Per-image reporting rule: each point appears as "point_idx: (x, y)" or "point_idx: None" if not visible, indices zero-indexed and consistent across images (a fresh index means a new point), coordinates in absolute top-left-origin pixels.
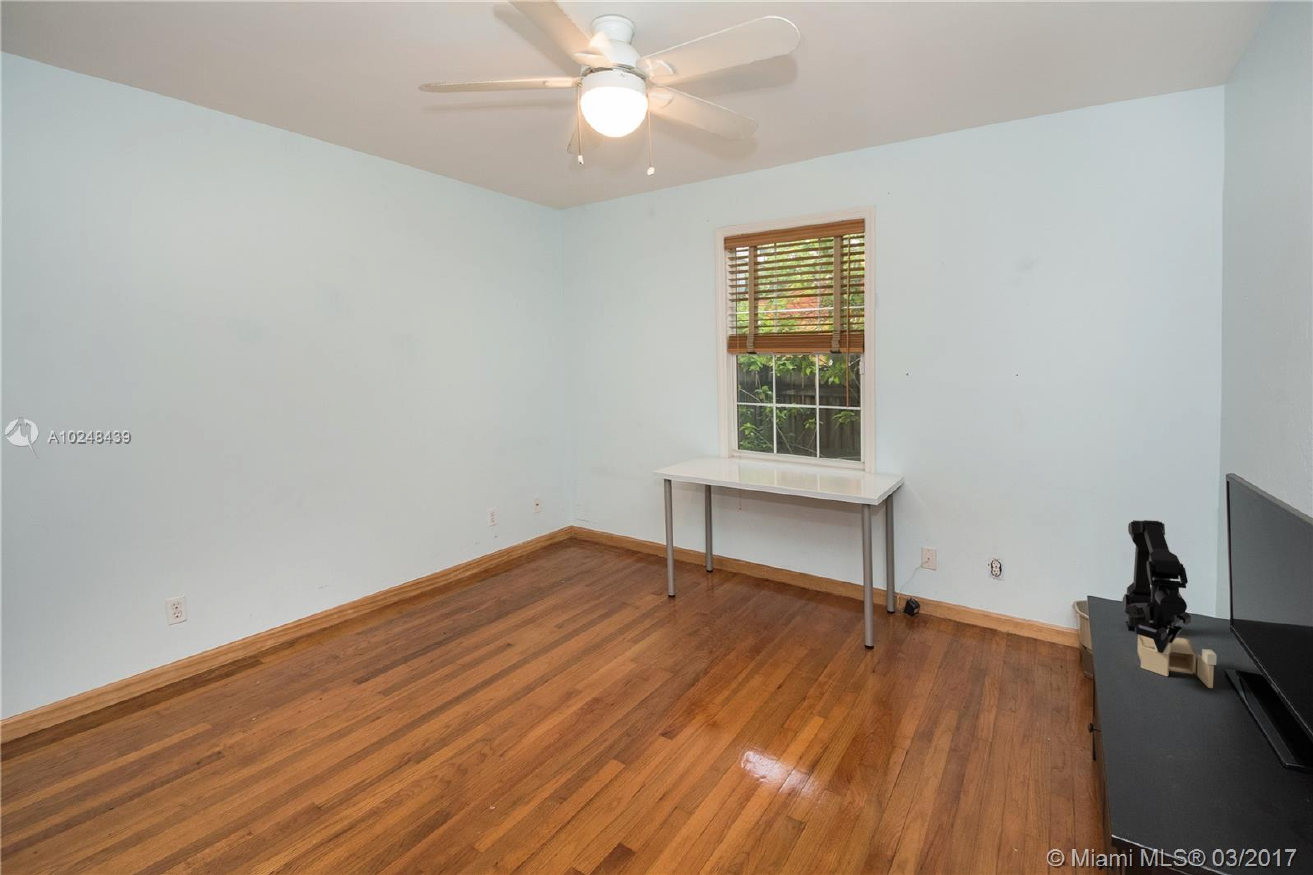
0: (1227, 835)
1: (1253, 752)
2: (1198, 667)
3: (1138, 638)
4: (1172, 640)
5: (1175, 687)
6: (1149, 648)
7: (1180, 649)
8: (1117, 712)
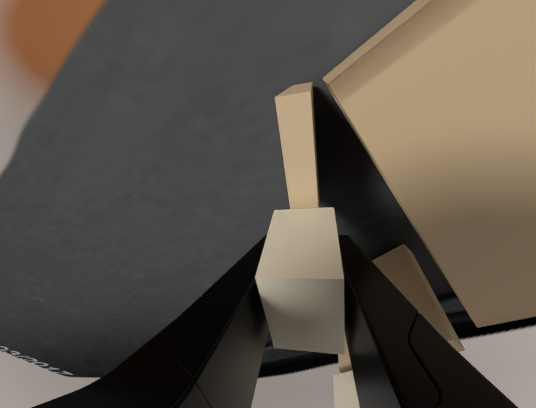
0: (24, 349)
1: None
2: (409, 280)
3: None
4: (358, 392)
5: (260, 228)
6: (305, 154)
7: (476, 273)
8: (12, 203)
